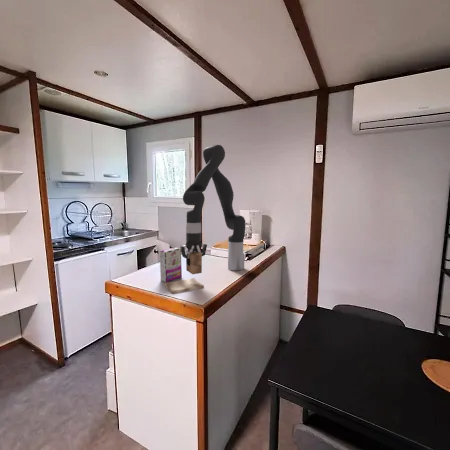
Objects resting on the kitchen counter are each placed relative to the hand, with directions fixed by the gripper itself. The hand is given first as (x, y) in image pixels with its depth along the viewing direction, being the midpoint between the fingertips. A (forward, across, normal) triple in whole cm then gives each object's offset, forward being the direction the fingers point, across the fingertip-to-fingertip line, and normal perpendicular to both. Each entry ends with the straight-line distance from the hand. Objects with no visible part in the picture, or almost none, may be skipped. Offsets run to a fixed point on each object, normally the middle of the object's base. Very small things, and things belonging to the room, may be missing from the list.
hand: (193, 264), depth 128 cm
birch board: (+10, +5, 0) cm, 12 cm away
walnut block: (+3, 0, 0) cm, 3 cm away
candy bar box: (+11, +7, -14) cm, 19 cm away
